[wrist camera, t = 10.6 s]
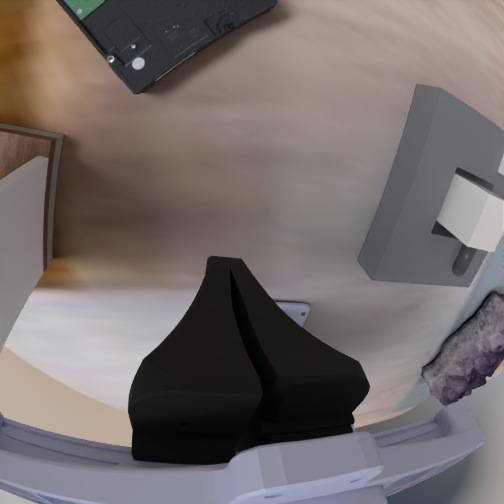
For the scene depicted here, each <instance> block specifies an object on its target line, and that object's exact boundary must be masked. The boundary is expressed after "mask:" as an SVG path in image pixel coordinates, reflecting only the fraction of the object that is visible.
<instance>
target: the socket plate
mask: <svg viewBox="0 0 504 504" xmlns="http://www.w3.org/2000/svg"><path fill="white" fill-rule="evenodd" d="M455 172H457V173H459V174H461V175H463V176H465V177H467V178H470V179H471V180H473V181H475V182H477V183H478V184H480V185H482V186H483V187H485V188H486V189H488V190H490V191H491V192H493V193H494V194H496V195H498V196H499V197H501V198H502V199H504V131H503V130H502V129H500V128H499V127H498V126H497V125H495V124H494V123H493V122H491V121H490V120H488V119H487V118H486V117H484V116H483V115H481V114H480V113H479V112H477V111H476V110H474V109H473V108H471V107H470V106H468V105H467V104H465V103H464V102H462V101H461V100H459V99H458V98H456V97H454V96H453V95H451V94H450V93H448V92H446V91H445V90H443V89H441V88H437V87H431V86H425V85H419V84H417V85H416V89H415V93H414V97H413V100H412V104H411V108H410V111H409V115H408V119H407V122H406V125H405V129H404V132H403V136H402V139H401V142H400V145H399V148H398V152H397V155H396V158H395V161H394V164H393V167H392V170H391V173H390V176H389V179H388V182H387V184H386V187H385V190H384V193H383V196H382V198H381V201H380V204H379V207H378V209H377V212H376V215H375V217H374V220H373V222H372V225H371V228H370V230H369V233H368V235H367V238H366V240H365V243H364V245H363V247H362V250H361V252H360V255H359V257H358V259H357V260H358V262H359V263H360V265H361V266H362V267H363V269H364V270H365V272H366V273H367V275H368V276H369V277H370V279H371V280H375V281H388V282H401V283H415V284H429V285H443V286H458V287H469V286H470V284H471V282H472V281H473V279H474V277H475V275H476V273H477V272H478V270H479V268H480V266H481V264H482V262H483V260H484V258H485V256H486V254H487V252H488V251H485V250H481V249H477V251H476V253H475V255H474V257H473V259H472V261H471V263H470V265H469V267H468V269H467V271H466V273H465V274H464V275H463V276H460V277H458V276H455V275H454V274H453V272H452V265H453V263H454V261H455V259H456V257H457V255H458V253H459V251H460V249H461V247H462V245H463V243H462V242H461V241H460V240H459V239H458V238H457V237H456V236H454V235H453V234H452V233H451V232H450V231H448V230H447V229H446V228H445V227H444V226H443V225H441V224H440V223H439V222H438V221H436V220H437V218H438V215H439V213H440V210H441V208H442V205H443V203H444V200H445V198H446V195H447V193H448V190H449V188H450V185H451V182H452V179H453V177H454V174H455Z"/></svg>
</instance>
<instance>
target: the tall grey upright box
mask: <svg viewBox="0 0 504 504" xmlns="http://www.w3.org/2000/svg"><path fill="white" fill-rule="evenodd" d="M63 137H64V135H63V134H58V133H53V132H48V131H42V130H37V129H32V128H26V127H20V126H14V125H8V124H2V123H0V352H1V350H2V348H3V345H4V343H5V341H6V339H7V337H8V335H9V333H10V331H11V329H12V327H13V325H14V323H15V322H16V320H17V318H18V316H19V314H20V312H21V310H22V309H23V307H24V305H25V303H26V301H27V300H28V298H29V296H30V294H31V293H32V291H33V289H34V288H35V286H36V284H37V283H38V281H39V279H40V278H41V276H42V275H43V273H44V271H45V270H46V268H47V267H48V265H49V264H50V262H51V260H52V252H53V222H54V207H55V195H56V185H57V176H58V168H59V161H60V155H61V148H62V142H63Z"/></svg>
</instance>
